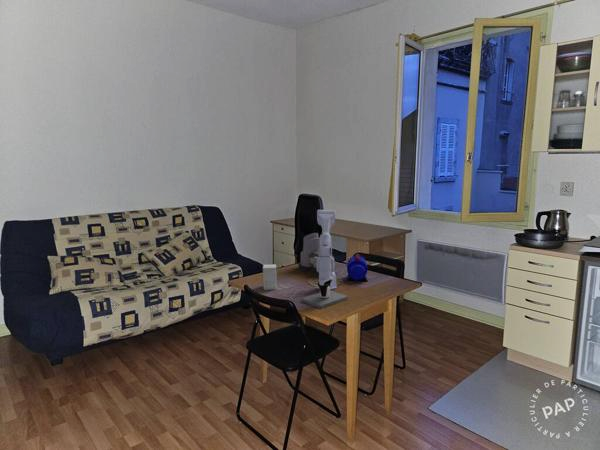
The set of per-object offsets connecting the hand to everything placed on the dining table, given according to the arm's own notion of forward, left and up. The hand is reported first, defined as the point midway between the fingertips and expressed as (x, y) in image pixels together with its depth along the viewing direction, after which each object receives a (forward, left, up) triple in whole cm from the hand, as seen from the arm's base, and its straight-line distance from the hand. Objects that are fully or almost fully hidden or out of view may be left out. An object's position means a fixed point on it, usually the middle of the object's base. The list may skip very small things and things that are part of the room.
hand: (324, 294), depth 213 cm
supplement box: (+8, -35, -3) cm, 36 cm away
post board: (0, 0, -3) cm, 3 cm away
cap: (0, 0, -1) cm, 1 cm away
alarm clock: (-40, -12, -3) cm, 42 cm away
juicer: (-35, -42, -3) cm, 55 cm away
